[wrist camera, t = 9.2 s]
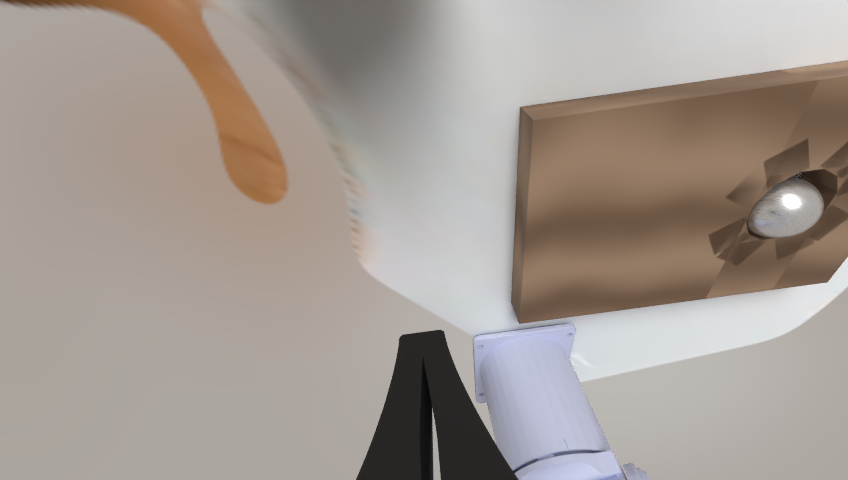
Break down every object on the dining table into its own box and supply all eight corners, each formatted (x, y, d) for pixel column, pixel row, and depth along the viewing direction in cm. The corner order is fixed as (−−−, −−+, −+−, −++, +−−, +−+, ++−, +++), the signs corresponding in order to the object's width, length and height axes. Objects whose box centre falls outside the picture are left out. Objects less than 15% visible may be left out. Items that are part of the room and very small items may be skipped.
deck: (800, 263, 26) (827, 282, 24) (511, 302, 26) (519, 323, 24) (950, 46, 17) (1008, 52, 16) (520, 107, 17) (533, 120, 16)
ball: (835, 214, 20) (813, 254, 19) (754, 212, 23) (731, 246, 22) (831, 160, 19) (807, 199, 17) (745, 166, 22) (720, 199, 20)
